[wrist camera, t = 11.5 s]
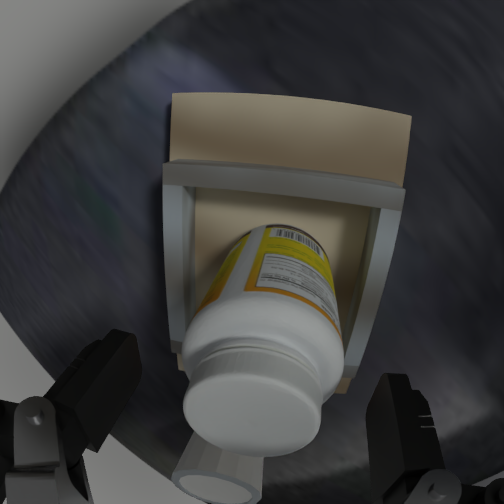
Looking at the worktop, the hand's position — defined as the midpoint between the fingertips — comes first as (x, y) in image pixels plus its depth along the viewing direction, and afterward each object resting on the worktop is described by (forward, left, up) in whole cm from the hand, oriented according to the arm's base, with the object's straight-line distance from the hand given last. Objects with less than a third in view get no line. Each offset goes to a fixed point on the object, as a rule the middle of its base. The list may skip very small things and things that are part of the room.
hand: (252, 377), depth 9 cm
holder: (0, 0, -10) cm, 10 cm away
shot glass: (+16, -2, -10) cm, 19 cm away
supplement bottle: (0, 0, -9) cm, 9 cm away
